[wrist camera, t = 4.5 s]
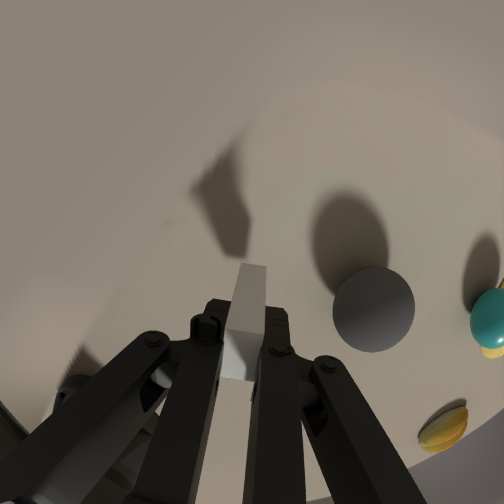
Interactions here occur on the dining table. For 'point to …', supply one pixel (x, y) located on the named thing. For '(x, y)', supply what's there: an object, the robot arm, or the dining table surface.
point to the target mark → (493, 352)
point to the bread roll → (444, 430)
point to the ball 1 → (373, 309)
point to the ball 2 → (489, 319)
